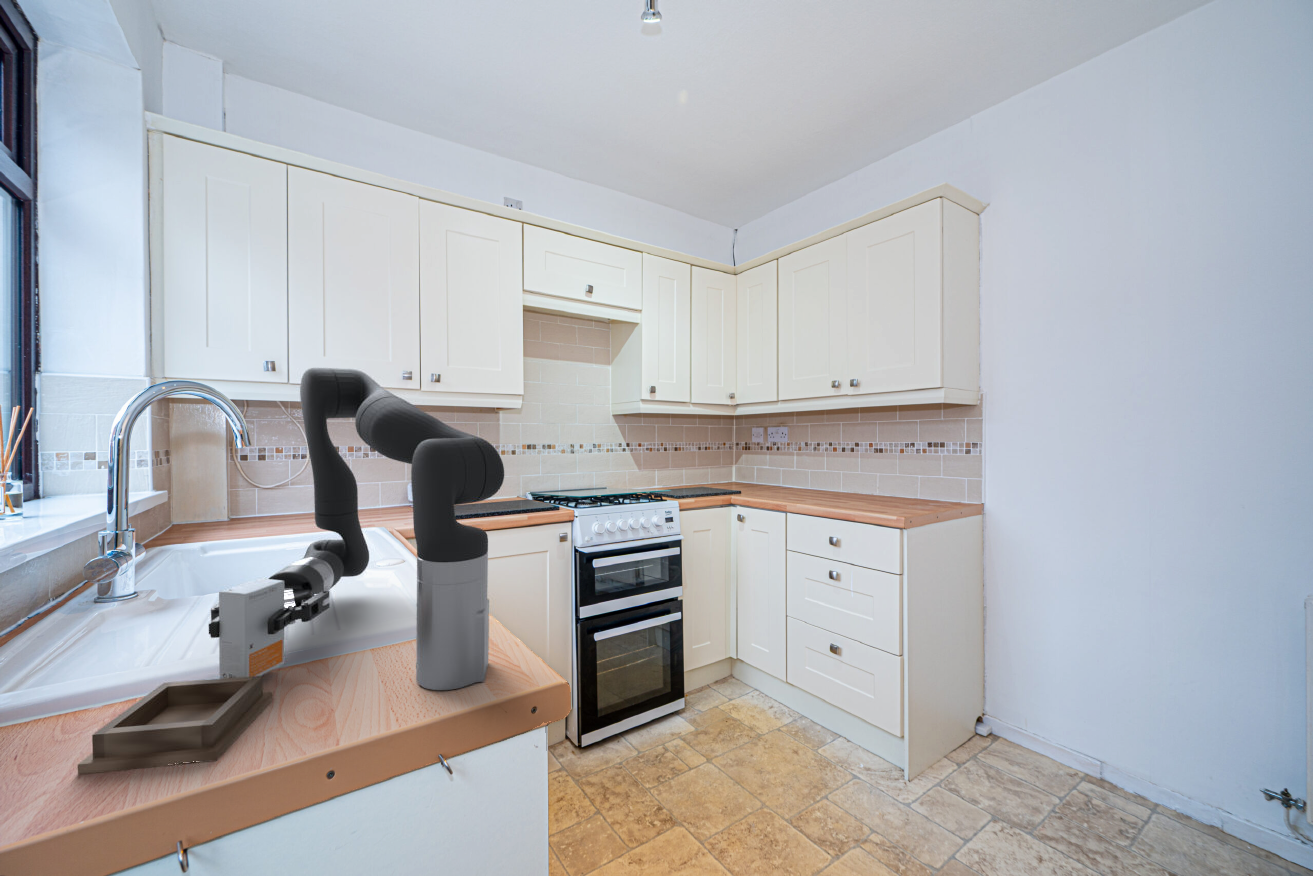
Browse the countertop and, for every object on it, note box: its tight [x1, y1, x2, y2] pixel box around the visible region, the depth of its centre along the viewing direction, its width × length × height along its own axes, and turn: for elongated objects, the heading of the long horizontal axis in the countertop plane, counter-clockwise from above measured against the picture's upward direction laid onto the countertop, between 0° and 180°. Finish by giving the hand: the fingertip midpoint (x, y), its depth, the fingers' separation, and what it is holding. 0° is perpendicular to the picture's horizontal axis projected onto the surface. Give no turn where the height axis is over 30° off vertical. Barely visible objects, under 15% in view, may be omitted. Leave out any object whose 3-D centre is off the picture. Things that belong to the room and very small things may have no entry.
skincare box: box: [218, 577, 285, 679], centre depth 72 cm, size 6×4×12 cm
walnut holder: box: [77, 675, 274, 775], centre depth 60 cm, size 12×12×4 cm
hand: (242, 628), depth 69 cm, fingers closed on skincare box, 6 cm apart
